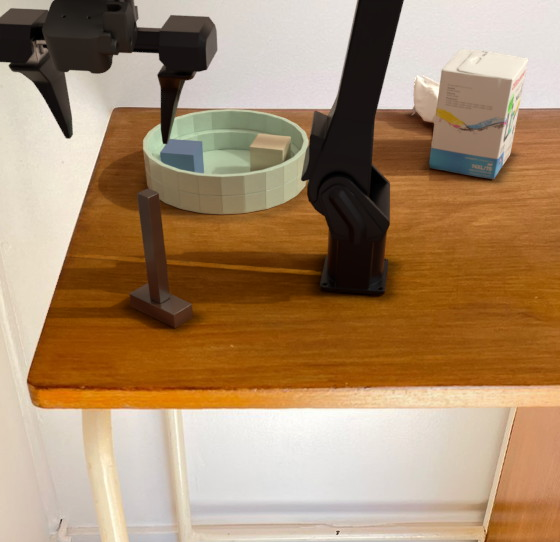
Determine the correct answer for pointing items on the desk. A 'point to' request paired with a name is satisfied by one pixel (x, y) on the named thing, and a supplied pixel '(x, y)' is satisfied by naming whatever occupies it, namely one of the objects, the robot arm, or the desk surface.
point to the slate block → (183, 155)
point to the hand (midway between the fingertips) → (117, 139)
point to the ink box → (477, 112)
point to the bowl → (226, 163)
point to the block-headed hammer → (156, 268)
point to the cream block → (269, 151)
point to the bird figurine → (425, 98)
